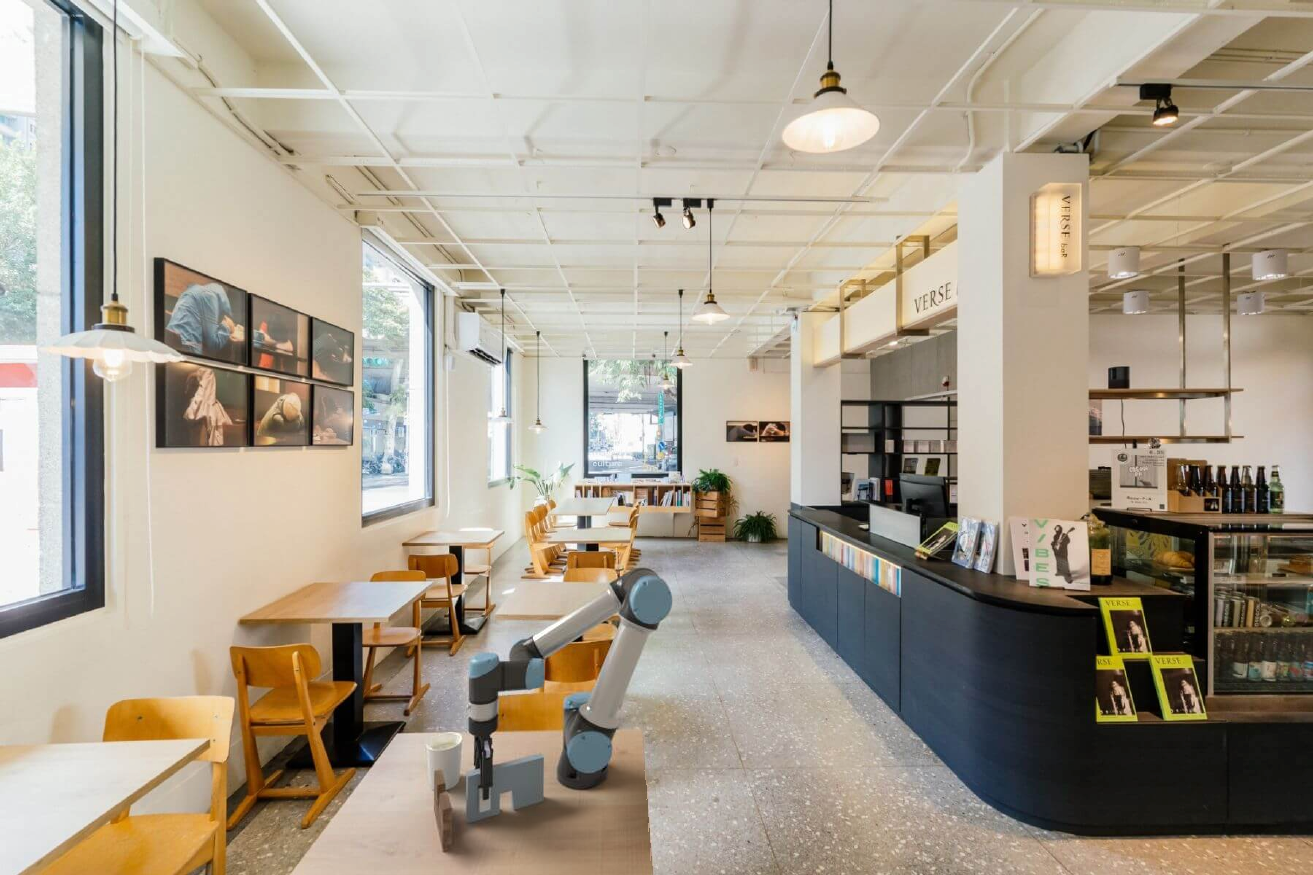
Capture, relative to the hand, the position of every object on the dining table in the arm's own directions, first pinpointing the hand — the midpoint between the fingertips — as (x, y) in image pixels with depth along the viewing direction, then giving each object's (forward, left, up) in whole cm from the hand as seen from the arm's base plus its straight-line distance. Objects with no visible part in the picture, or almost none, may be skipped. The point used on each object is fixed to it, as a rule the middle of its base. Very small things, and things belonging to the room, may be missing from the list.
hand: (482, 803), depth 150 cm
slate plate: (-6, 0, -3) cm, 7 cm away
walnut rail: (+10, 0, -3) cm, 11 cm away
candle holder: (+7, -20, -3) cm, 21 cm away
